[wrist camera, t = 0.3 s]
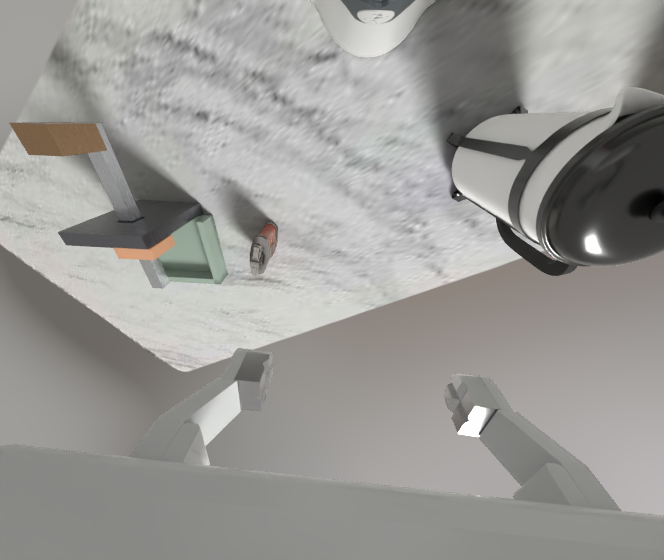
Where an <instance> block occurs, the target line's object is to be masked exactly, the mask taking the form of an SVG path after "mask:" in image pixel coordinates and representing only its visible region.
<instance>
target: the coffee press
mask: <svg viewBox="0 0 664 560" xmlns="http://www.w3.org/2000/svg"><path fill="white" fill-rule="evenodd" d="M446 142H448V143H449V144H451V145H453V146H455V147H457V148H458V149H457V151H456V153H455V156H454V159H453V163H452V177H453V181H454V184H455V186H456V187H457V189H458V190H456V191H455V192H454V193H453V195H452V199H454V200H456V201H458V202H460V201H462V200H464V199H468V198H470V199H471V200H470V199H468V200H469V201H471V202H473V203H474V204H476V205H477V206H479V207H480V208H482V209H483V210H485V211H486V212H488V213H489V214H491V215H493V216H494V217H496V222H497V227H498V230H499V233H500V235H501V237H502V239H503V240H504V242H505V243H506V244H507V245H508V246H509V247H510V248H511V249H513V250H514V251H515V252H516V253H518V254H519V255H520V256H522V257H523V258H524V259H525V260H527V261H528V262H529V263H531V264H532V265H533V266H535V267H536V268H538V269H539V270H540V271H542V272H544V273H546V274H548V275H552V276H559V275H564V274H567V273H571V272H572V271H574V270H575V269H576V267H577V266H615V265H622V264H627V263H632V262H636V261H639V260H642V259H645V258H649V257H651V256H654V255H656V254H659V253H661V252H663V251H664V95H662V94H659V93H656V92H653V91H650V90H646V89H642V88H638V87H626V88H624V89H623V90H621V91H620V93H619V94H618V96H617V99H616V103H615V105H614V107H613V108H606V109H601V110H597V111H587V112H557V113H528V110H526V109H525V108H523V107H522V106H518V107H517V108H516V109H515V110H514V111H513V112H512V114H506V115H499V116H495V117H492V118H490V119H487V120H485V121H484V122H482V123H480V124H479V125H477V126H476V127H475V128H474V129H472V130H471V131H470V132H469V133H468V134H467V136H466V137H462V136H459V135H457V134H455V133H451V135H450V136H449V138H448V139H447V141H446ZM462 194H464V195H465V196H467V197H468V198H467V197H465V196H463V195H462ZM472 200H473V201H472ZM480 205H481V206H480ZM483 207H484V208H483ZM486 209H487V210H486ZM489 211H490V212H489ZM491 212H492V213H491ZM494 214H495V215H494ZM511 225H512V226H511ZM513 226H514V227H513ZM510 227H511V228H512V229H514V230H516V231H517V232H519V233H520V234H522V235H523V236H525V237H527V238H528V239H530V240H531V241H533V242H534V243H537V244H539V245H541V247H542V248H543V249H544V250H545V251H546V252H547V253H548V254H549V255H551V256H552V257H554V258H555V259H557V261H555V260H552V259H550V258H548V257H547V256H546V255H544V254H543V253H541V252H540V251H538V250H537V249H535V248H534V247H532V246H531V245H529V244H528V243H526V242H525V241H523V240H522V239H520V238H519V237H518V236H516V235H515V234H514V233H513V232H512V230H511V228H510ZM527 235H528V236H527Z"/></svg>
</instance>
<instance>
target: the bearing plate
mask: <svg viewBox="0 0 664 560" xmlns="http://www.w3.org/2000/svg"><path fill="white" fill-rule="evenodd" d="M135 203H136V205H137V207H138V210H139V212H140V214H141V217H142V219H141V220H139V221H137V222H135V223H122V222H121V221H120V219H119V217H118V215H117V213H116V211H115V210H113V211H111V212H108V213H106V214H103V215H100V216H98V217H95V218H93V219H90V220H88V221H85V222H83V223H80V224H78V225H75V226H72V227H70V228H67V229H65V230H62V231H60V232H58V233H59V235H60V236H61V238H62V239H63V241H64V243H65V244H66V245H72V246H91V247H110V248H128V249H149V248H150V247H152V246H153V245H155V244H156V243H158V242H159V241H161V240H163V239H164V238H166V237H167V236H169V235H170V234H172V233H173V232H175V231H176V230H178V229H179V228H181V227H182V226H184V225H185V224H187V223H188V222H190V221H191V220H193V219H194V218H196V217H198V216H199V215H201V214H202V210H201V206H200V203H186V202H166V201H146V200H139V201H136V202H135Z"/></svg>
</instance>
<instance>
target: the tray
mask: <svg viewBox="0 0 664 560" xmlns="http://www.w3.org/2000/svg"><path fill="white" fill-rule="evenodd" d="M170 235H172V236H173V239H174V242H175V244H176V245H174V246H173V247H172V248H170V249H169V250H167V251H166V252H165V253H163V254H162V255H161V256H159V259H160V261H161V263H162V266H163V268H164V270H165V273H166V275H167V277H168V280H169V281H173V282H190V283H208V284H221V283H222V281H223V280H224V279H225V277H226V276H227V275H228V273H227V269H226V266H225V262H224V258H223V254H222V250H221V246H220V242H219V238H218V234H217V230H216V226H215V222H214V218H213V215H199V216H198V217H196V218H194V219H193V220H191V221H190V222H188V223H187V224H185V225H184V226H182V227H181V228H179V229H178V230H176V231H175V232H173V233H172V234H170Z"/></svg>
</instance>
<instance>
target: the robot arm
mask: <svg viewBox="0 0 664 560" xmlns="http://www.w3.org/2000/svg"><path fill="white" fill-rule="evenodd" d="M310 1H311V2H312V3H313V4H314V5H315V6H316V8H317V9H318V11H319V13H320V16H321V18H322V20H323V23H324V25H325V27H326V29H327V31H328V32H329V34H330V35H331V37H332V38H333V39H334V41H335V42H336V43H337V44H338V45H339V46H340V47H341V48H343V49H344V50H345V51H347V52H349V53H351V54H353V55H355V56H359V57H376V56H380V55H383V54H385V53H387V52H389V51H391V50H392V49H394V48H395V47H396V46H398V45H399V44H400V43H401V42H402V41H403V40H404V39H405V38H406V37H407V35H408V34H409V33H410V32H411V30H412V29H413V27H414V26H415V24H416V23H417V21H418V19H419V18H420V16H421V15H422V13H423V12H424V11H425V10H426V9H427V8H428V7H429V6H430V5H432V4H433V3H434V2H436V1H437V0H310ZM272 359H273V355H272V353H271V352H264V351H257V350H248V349H241V348H238V349H237V350H236V351H235V353H234V355H233V356H232V358H231V360H230V362H229V363H228V365H227V367H226V369H225V371H224V372H223V374H222V376H221V378H220V379H219V378H216V379H215V380H213V381H212V382H210V383H209V384H208V385H206V386H204V387H203V388H201V389H200V390H198V391H197V392H195V393H194V394H193V395H191V396H189V397H188V398H186V399H185V400H183V401H182V402H181V403H179V404H177V405H176V406H174V407H173V408H172V409H170V410H169V411H167V412H166V413H164V414H163V415H161V416H160V417H158V418H157V419H156V420H155V422H154V423H153V425H152V426H151V427H150V429H149V430H148V432H147V433H146V435H145V436H144V437H143V439H142V440H141V441H140V443H139V444H138V446H137V447H136V448H135V450H134V451H133V453H132V454H131V455H130V457H124V456H115V455H106V454H96V453H87V452H79V451H70V450H60V449H52V448H43V447H35V446H26V445H5V446H1V447H0V560H664V516H662V515H653V514H643V513H635V512H626V511H621V509H620V508H619V507H618V506H617V504H616V503H615V502H614V500H613V499H612V498H611V496H610V495H609V494H608V493H607V491H606V490H605V489H604V488H603V486H602V485H601V484H600V482H599V481H598V480H597V478H596V477H595V476H594V474H592V472H591V471H590V469H589V468H588V467H587V466H586V465H585V464H583V463H582V462H581V461H580V460H578V459H577V458H576V457H575V456H573V455H572V454H571V453H569V452H568V451H567V450H565V449H564V448H563V447H562V446H560V445H559V444H558V443H557V442H555V441H554V440H553V439H551V438H550V437H549V436H547V435H546V434H545V433H544V432H542V431H541V430H540V429H538V428H537V427H536V426H535V425H533V424H532V423H531V422H529V421H528V420H527V419H525V418H524V417H523V416H522V415H521V414H519V413H518V412H514V411H513V409H512V408H511V406H510V405H509V403H508V402H507V400H506V399H505V397H504V396H503V394H502V393H501V391H500V390H499V389H498V387H497V385H496V384H495V382H494V381H493V379H491V378H490V377H486V376H476V375H467V374H458V373H455V374H453V375H452V377H451V381H452V383H450V384H449V385H447V387H446V389H445V394H444V397H445V402H446V405H447V407H448V409H450V411H452V412H453V415H452V420H453V422H454V425H455V427H456V430H457V432H458V433H459V434H466V435H472V436H479V437H478V438H479V439H480V440H481V441H482V442H483V443H484V445H485V446H486V447H487V448H488V449H489V450H490V451H491V453H492V454H493V455H494V456H495V457H496V458H497V459H498V460H499V462H500V463H501V464H502V465H503V466H504V467H505V468H506V469H507V470H508V472H509V473H510V474H511V475H512V476H513V477H514V479H515V480H516V481H517V482H518V483H519V484H520V485H521V486H522V487H521V488H520V489H518V490H517V491H516V492H515V493H514V496H513V498H514V499H506V498H498V497H488V496H479V495H471V494H461V493H452V492H443V491H434V490H425V489H416V488H407V487H398V486H389V485H380V484H371V483H362V482H353V481H343V480H334V479H324V478H315V477H307V476H298V475H289V474H280V473H270V472H261V471H251V470H242V469H234V468H225V467H215V466H209V465H210V462H209V459H208V455H207V451H206V448H205V446H206V445H207V444H208V443H209V442H210V441H211V440H212V439H213V438H214V437H215V436H216V435H217V434H218V433H219V432H220V431H221V430H222V429H223V428H224V427H225V426H226V425H227V424H228V423H229V422H230V421H231V420H232V419H233V418H234V417H235V416H236V415H237V414H238V413H239V412H240V411H241V410H250V411H262V408H263V405H264V401H265V398H266V390H267V389H268V388H269V386H270V383H271V379H272V373H273V365H272V364H271V362H272Z"/></svg>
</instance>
